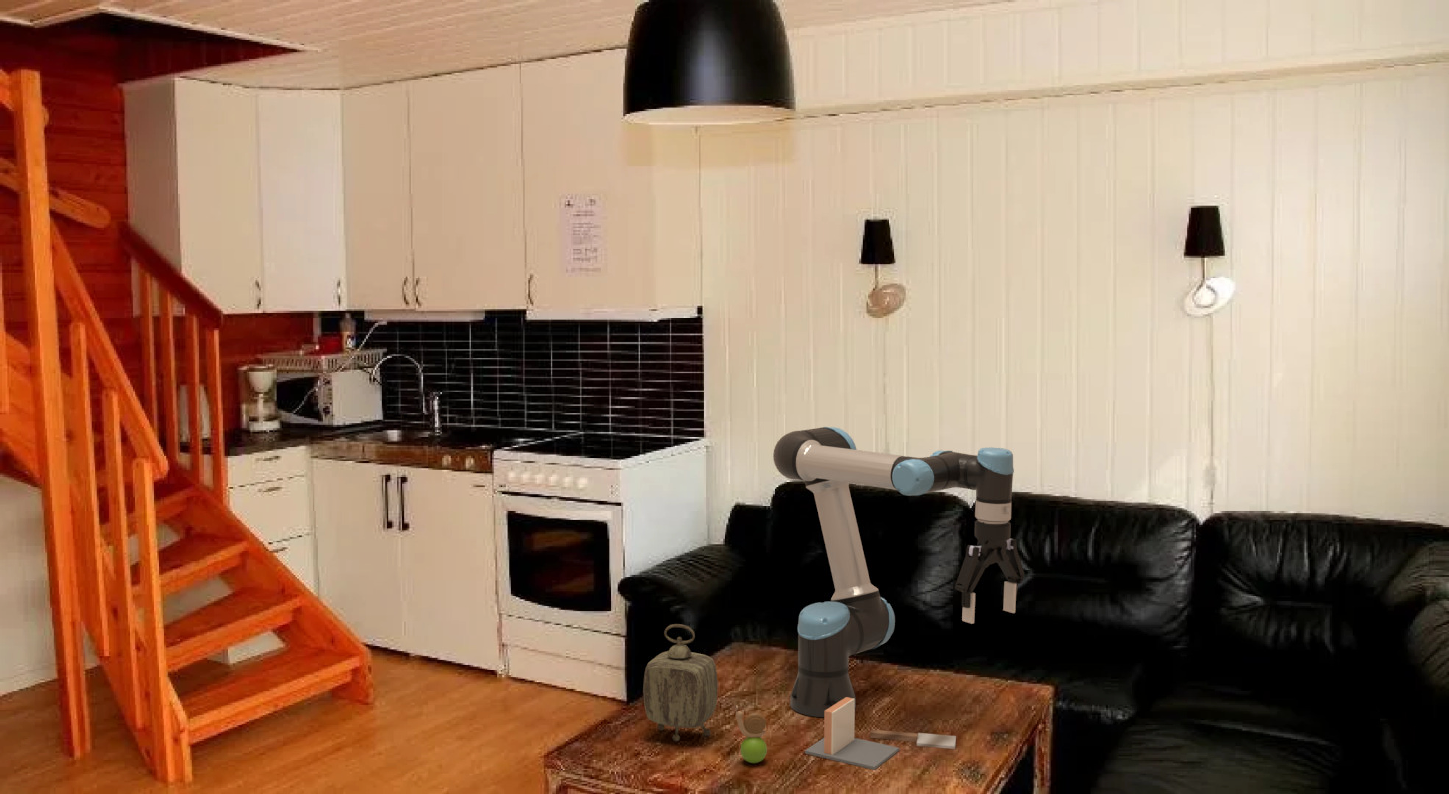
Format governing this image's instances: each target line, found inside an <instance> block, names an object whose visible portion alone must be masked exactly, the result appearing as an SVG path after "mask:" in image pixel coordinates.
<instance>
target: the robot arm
mask: <svg viewBox="0 0 1449 794" xmlns="http://www.w3.org/2000/svg"><path fill="white" fill-rule="evenodd" d="M772 459H773V462H774V467H775V468H776V469H777V471H778V473H780V474H781V475H782V476H783V477H785V478H787V479H789V480H796V481H804V484H805V488H806V489H807V490H809V491H810V492H811V493H813V496H814V501H815V505H816V509H817V512H818V518H819V522H820V526H821V527H820V528H821V532H822V536H823V541H824V544H825V546H824V547H825V550H826V554H827V555H826V556H827V558H828V564H829V567H830V572H831V576H832V581H833V585H834V586H833V587H834V589H835V590H834V593H833V595H832V597H831V599H830V601H824V602H821V601H820V602H815V603H811V604H809V605H807V606H805V607H803V609H801V611H800V613H799V615H798V624H797V652H798V653H797V670H798V671H797V675H796V678H795V681H794V684H793V687H792V691H791V693H790V696H789V697H790V708H791V709H792V710H793V711H795V712H797V713H798V714H800V715H801V714H802V715H804V716H810V717H817V718H824V711H825V710H827V709H828V708H830V707H831V706H833V705H835V704H836V703H838V702H839V701H841V700H842V699H844V698H846V697H849V698H854V699H855V709H856V708H857V707H856V705H857V704H856V703H857V702H856V700H857V699H856V694H855V691H854V688H853V685H852V682H851V678H850V675H849V664H850V663H849V662H850V661H849V657H850V656H854V655H857V654H859V653H862V652H866V651H869V650H874V649H877V648H878V647H880V646H881V645H884V644H885V643H888V642H889V639H890V638H891V636H892V635H893V634H894V631H895V625H896V624H895V623H896V615H895V612H894V610H893V608H892V606H891V604H890V603H888V601H887V600H886V599H885V598H884V597H882V596H881V594H880V591H879V588H877V586H874V585H873V584H872V583H871V580H870V576H869V575H870V574H869V570H868V566H867V562H866V561H867V560H866V557H865V554H864V550H863V545H862V540H861V536H860V532H859V526H858V522H857V518H856V514H855V509H854V505H853V500H852V497H851V492H850V488H849V486H850V484H853V485H854V484H855V485H861V486H869V487H874V488H875V487H876V488H882V489H890V490H895V491H898V493H900V494H902V495H903V496H910V497H911V496H912V497H913V496H917V497H918V496H922V495H925V494H928V493H934V492H939V491H943V490H949V489H953V488H958V489H959V488H960V489H967V490H971V491H975V507H974V508H975V511H974V517H975V518H976V520H974V537H975V538H976V539H977V544H976V545H972V544H971V545H970V544H968V545H967V546H966V551H965V557H964V560H963V563H962V565H961V568H960V571H959V574H958V577H957V579H956V582H955V586H954V589H955V590H956V591H959V592H961V607H962V613H961V615H962V616H961V618H962V619H961V620H962V622H965V623H968V624H971V625H972V624H975V613H976V611H975V610H976V608H975V607H976V593H975V592H974V590H975V588H976V586H977V584H978V582H979V581H980V579H981V577H982V575H983V574H984V572H985V569H987V568H989V566H990V565H993V564H997V565H998V566H999V568H1000V569H1001V571H1002V573H1003V574H1004V576H1005V578H1006V581H1004V582H1003V583H1004V585H1003V609H1002V611H1005V612H1008V613H1010V614H1011V613H1012V614H1015V613H1016V601H1017V595H1018V584H1022V582H1023V579H1025V577H1026V576H1025V571H1024V568H1023V566H1022V562H1021V561H1022V560H1021V558H1020V555H1019V554H1020V553H1019V552H1018V544H1017V543H1018V542H1017V541H1018V540H1016V539H1014V538H1011V532H1012V531H1011V530H1012V529H1011V526H1012V523H1010V520H1011V519H1012V499H1013V498H1012V493H1013V481H1014V473H1015V469H1014V455H1013V453H1012V451H1011V450H1010V449H1007V448H1001V447H982V448H980V449H978V451H977V455H975V454H968V453H961V452H957V451H956V452H955V451H953V450H936V451H934V452H933V453H932V454H931V455H930V456H926V457H914V456H908V455H907V456H906V455H905V456H904V455H899V454H891V453H884V452H877V451H876V452H875V451H869V450H858V449H857V446H856V444H855V441H854V439H853V438H852V437H851V435H850V434H849V433H848V432H846V431H845V430H844V429H842V428H840V427H835V426H831V427H829V426H824V427H822V426H821V427H817V428H810V429H809V428H808V429H805V430H804V429H802V430H794V431H791V432H788V433H786V434H784V435H783V436H781V438H780V439H779V440H778V441H777V442H776V444H775V445H774V449H773V457H772Z"/></svg>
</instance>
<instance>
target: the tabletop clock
mask: <svg viewBox="0 0 1449 794" xmlns="http://www.w3.org/2000/svg"><path fill="white" fill-rule="evenodd" d="M672 628H682V629H685V630H687V631H689V633H690V632H691V635H692V638H690V639H688V640H683V637H681V636H677V638H676V639H673V638H671V637H669V636H668V634H667V632H668V631H669V630H670V629H672ZM663 633H664V634H663V635H664V637H665V638H666V639H667V640H668V641H669V642H671V643H673V644H674V645H672V646H671V647H670V648H669V650H667V651H662V652H661V653H659V654H658V655H656V656H655V657H654V658H652V659H651V660H650V661H649V662H648V663H647V665H646V667H645V670H644V676H643V687H642V694H643V705H644V711H645V714H646V717H647V719H648V720H650V721H651V722H653V723H655V724H657V728H658V729H657V730H659V731H663V730H665V726H667V727H673V728H674V730H675V733H674V734H673V735H672V741H674V742H675V743H676V742H679V741H680V739H681V736H680V734H679V730H680V729H679V728H684V729H686V728H687V729H692V728H698V727H700V728H701V729H702V730H703V731H702V734H703V735H704V736H705V737H709V736H710V735H711V730H710V729H709V728H706V726H705V725H704V724H705V723H706V722H707V721H708V720H709V718H711V717H712V715H714V712H715V710H716V707H717V702H718V690H719V689H718V688H719V685H718V684H719V683H718V672H717V666H716V663H715V661H714V658H712V657H711V656H708V655H706V654H703V653H702V654H701V653H697V652H692V651H691V649H690V648H689V647H688V646H687V644H690V643H692V642H693V641H694V640H695V637H696V636H695V635H696V634H695V631H694V630H693V629H692V628H691V627H690V626H689V625H685V624H680V623H674V624H669V625H668V626H667V627H666V628H665V630H664V632H663Z"/></svg>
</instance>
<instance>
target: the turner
mask: <svg viewBox="0 0 1449 794" xmlns="http://www.w3.org/2000/svg"><path fill="white" fill-rule="evenodd" d="M869 738H870V739H878V740H881V739H882V740H891V741H901V742H902V741H903V742H911V743H912V742H913V743H914V742H915V743H916V747H929V748H938V749H939V748H940V749H952V750H955V749H956V742H957V741H956V739H957V736H956V735H946V734H937V733H936V734H935V733H924V732H918V733H913V732H906V731H905V732H903V731H892V730H880V729H871V730H870V737H869Z"/></svg>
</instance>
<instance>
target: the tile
mask: <svg viewBox="0 0 1449 794" xmlns="http://www.w3.org/2000/svg"><path fill="white" fill-rule="evenodd" d="M855 710H856V708H855V699H854V698H849V697H846V698H844V699H842V700H841V701H839V702H838V703H836V704H835V705H833V706H831V707H830V708H828V709H827V710H825V711H824V717H823V718H824V721H823V722H824V723H823V724H824V727H823V728H824V731H823V738H824V753H826V754H830V755H833V754H835V753H836V752H838V751H839V750H841V749H842V748H843V747H845V746H846V745H848V744H849V743H850V742H852V741H853V740H854V738H855V717H856V716H855V715H856V713H855V712H856V711H855Z"/></svg>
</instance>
